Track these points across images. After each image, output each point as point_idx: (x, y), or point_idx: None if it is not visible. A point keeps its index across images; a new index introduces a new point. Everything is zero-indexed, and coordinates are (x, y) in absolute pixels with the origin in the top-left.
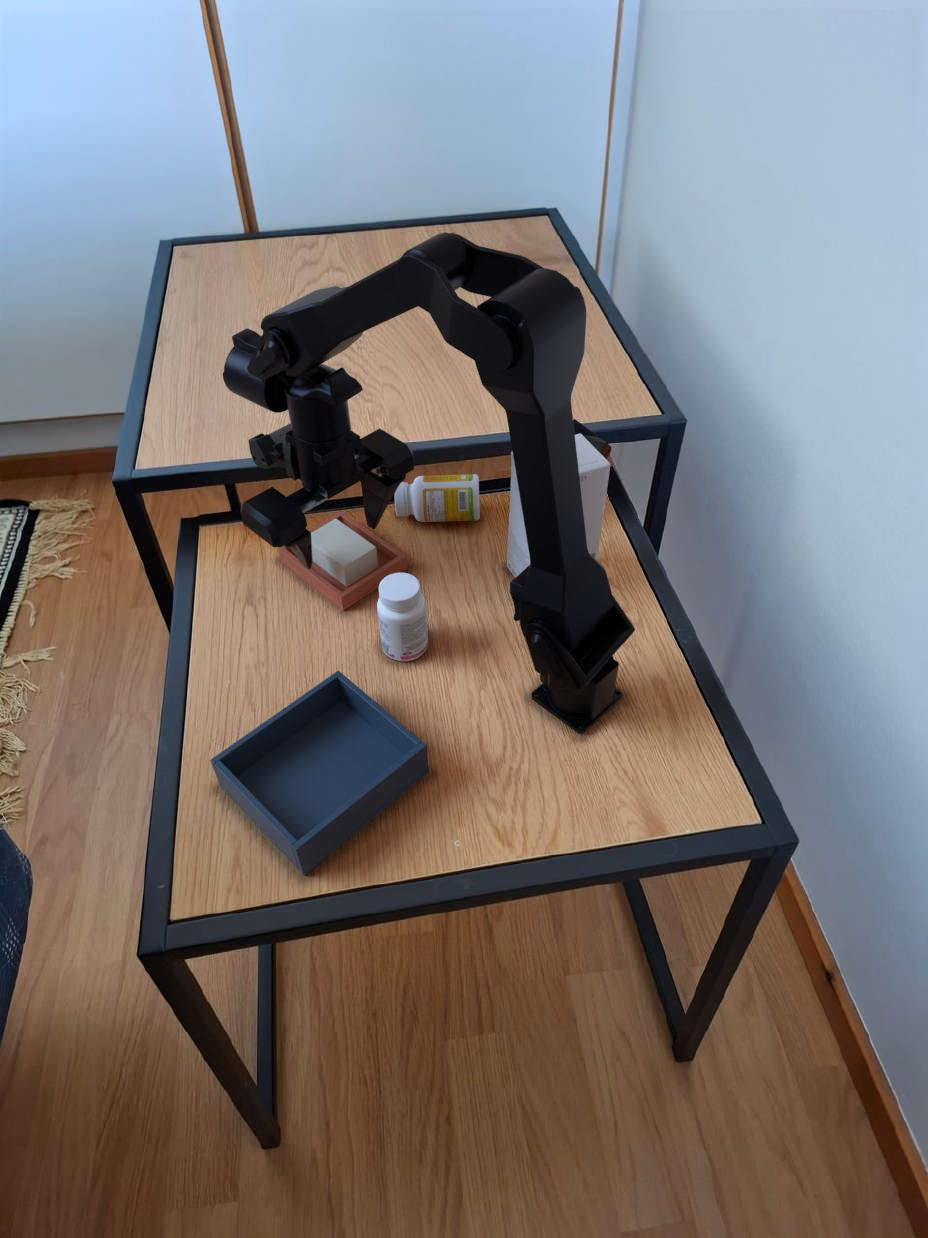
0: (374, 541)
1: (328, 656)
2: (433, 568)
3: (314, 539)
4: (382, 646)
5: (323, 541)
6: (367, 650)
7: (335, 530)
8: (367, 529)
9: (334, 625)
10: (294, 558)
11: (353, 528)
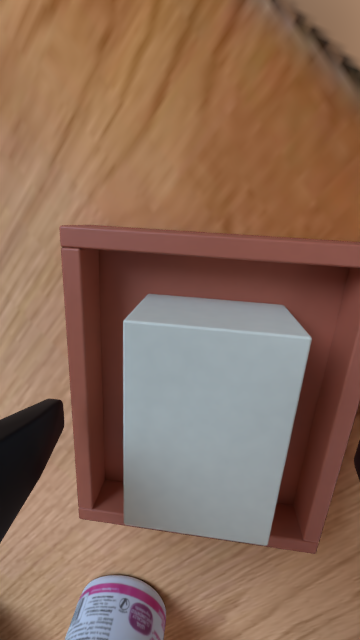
0: (321, 443)
1: None
2: (341, 545)
3: (145, 366)
4: (78, 602)
5: (163, 399)
6: (67, 562)
7: (243, 393)
8: (356, 406)
9: (57, 487)
10: (74, 316)
11: (344, 336)
